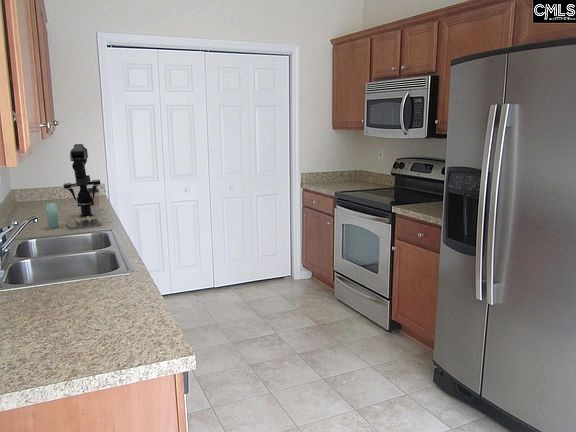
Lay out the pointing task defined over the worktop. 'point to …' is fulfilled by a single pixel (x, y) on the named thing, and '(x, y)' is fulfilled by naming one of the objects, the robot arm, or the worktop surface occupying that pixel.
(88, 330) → the worktop surface
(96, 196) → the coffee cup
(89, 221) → the metal base plate
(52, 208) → the post
